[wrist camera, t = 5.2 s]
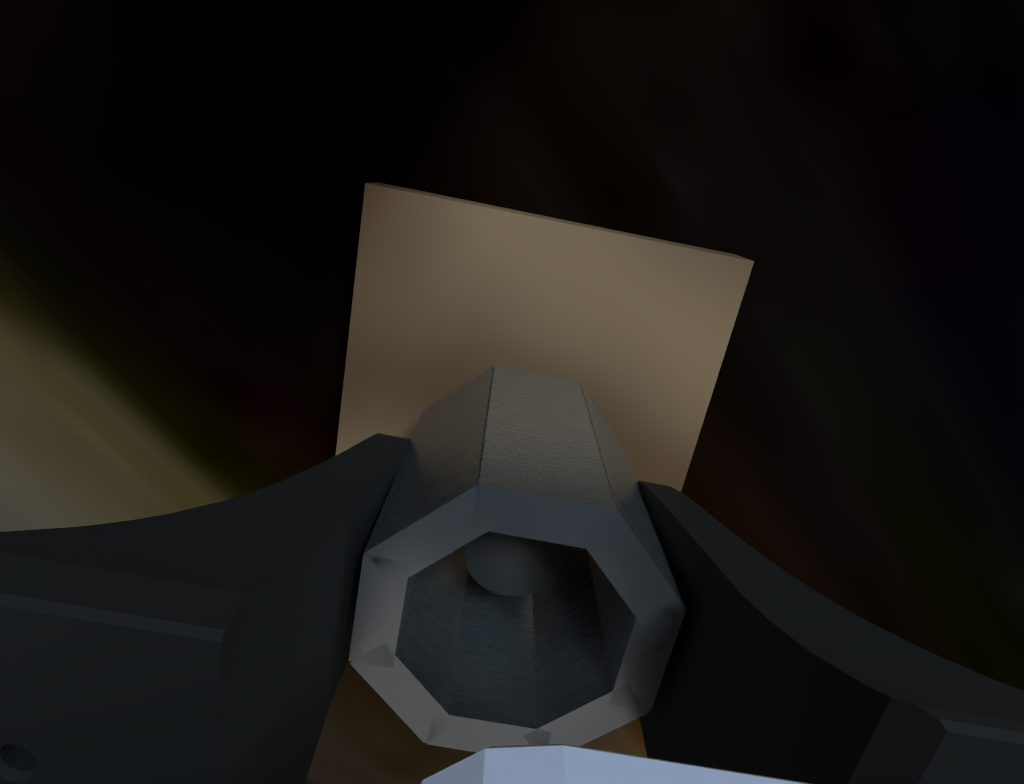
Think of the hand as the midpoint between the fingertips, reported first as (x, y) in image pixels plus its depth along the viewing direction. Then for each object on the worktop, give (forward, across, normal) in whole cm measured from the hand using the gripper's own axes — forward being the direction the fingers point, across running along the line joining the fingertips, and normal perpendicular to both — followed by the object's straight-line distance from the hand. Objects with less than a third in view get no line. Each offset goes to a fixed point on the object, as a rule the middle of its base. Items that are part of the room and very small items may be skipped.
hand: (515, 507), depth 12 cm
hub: (+2, 0, 0) cm, 2 cm away
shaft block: (+4, 0, 0) cm, 4 cm away
